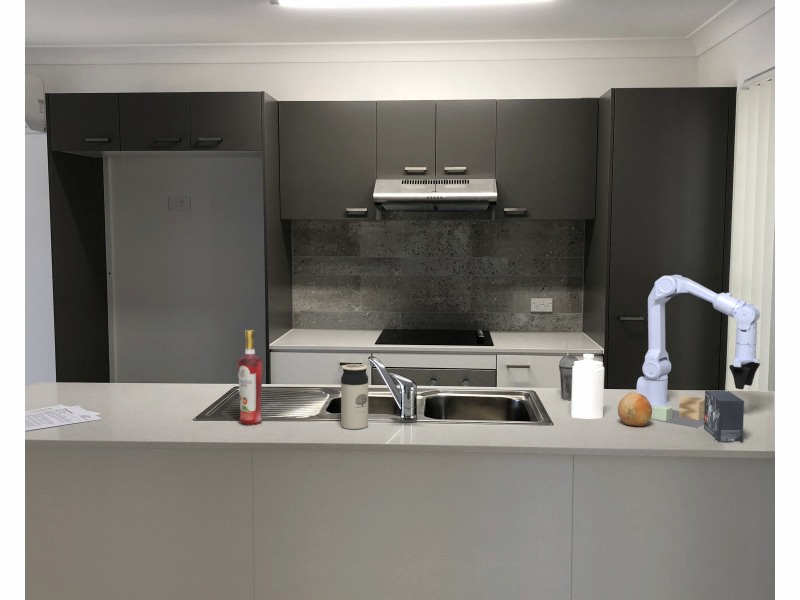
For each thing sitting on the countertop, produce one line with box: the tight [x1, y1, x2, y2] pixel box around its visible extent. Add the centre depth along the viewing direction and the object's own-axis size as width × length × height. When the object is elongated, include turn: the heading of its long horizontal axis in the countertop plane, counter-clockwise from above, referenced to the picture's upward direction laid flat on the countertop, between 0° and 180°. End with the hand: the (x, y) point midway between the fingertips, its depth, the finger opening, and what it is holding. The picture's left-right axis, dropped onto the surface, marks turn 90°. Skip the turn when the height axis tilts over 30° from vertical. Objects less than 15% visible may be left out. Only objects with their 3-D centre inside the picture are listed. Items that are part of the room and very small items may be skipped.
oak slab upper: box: [678, 395, 705, 411], centre depth 223 cm, size 6×6×3 cm
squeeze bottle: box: [570, 353, 605, 420], centre depth 222 cm, size 10×20×5 cm
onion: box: [617, 392, 653, 427], centre depth 213 cm, size 10×10×10 cm
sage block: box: [651, 405, 673, 421], centre depth 220 cm, size 4×4×4 cm
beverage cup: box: [558, 342, 579, 402], centre depth 247 cm, size 7×7×20 cm
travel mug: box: [340, 363, 369, 430], centre depth 210 cm, size 8×8×18 cm
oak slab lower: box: [678, 407, 704, 420], centre depth 223 cm, size 6×6×3 cm
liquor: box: [237, 329, 264, 426], centre depth 212 cm, size 7×7×28 cm
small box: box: [703, 390, 745, 443], centre depth 202 cm, size 13×7×12 cm, turn 174°
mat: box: [649, 409, 704, 429], centre depth 221 cm, size 15×17×1 cm
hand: (743, 387), depth 222 cm, fingers open, 7 cm apart
